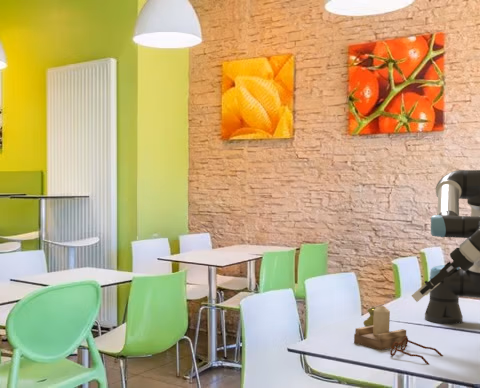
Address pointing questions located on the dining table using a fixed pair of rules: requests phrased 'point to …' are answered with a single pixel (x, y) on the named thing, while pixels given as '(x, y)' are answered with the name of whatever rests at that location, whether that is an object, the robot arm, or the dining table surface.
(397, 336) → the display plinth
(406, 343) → the glasses
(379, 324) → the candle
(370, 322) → the brass knob
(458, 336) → the dining table surface
